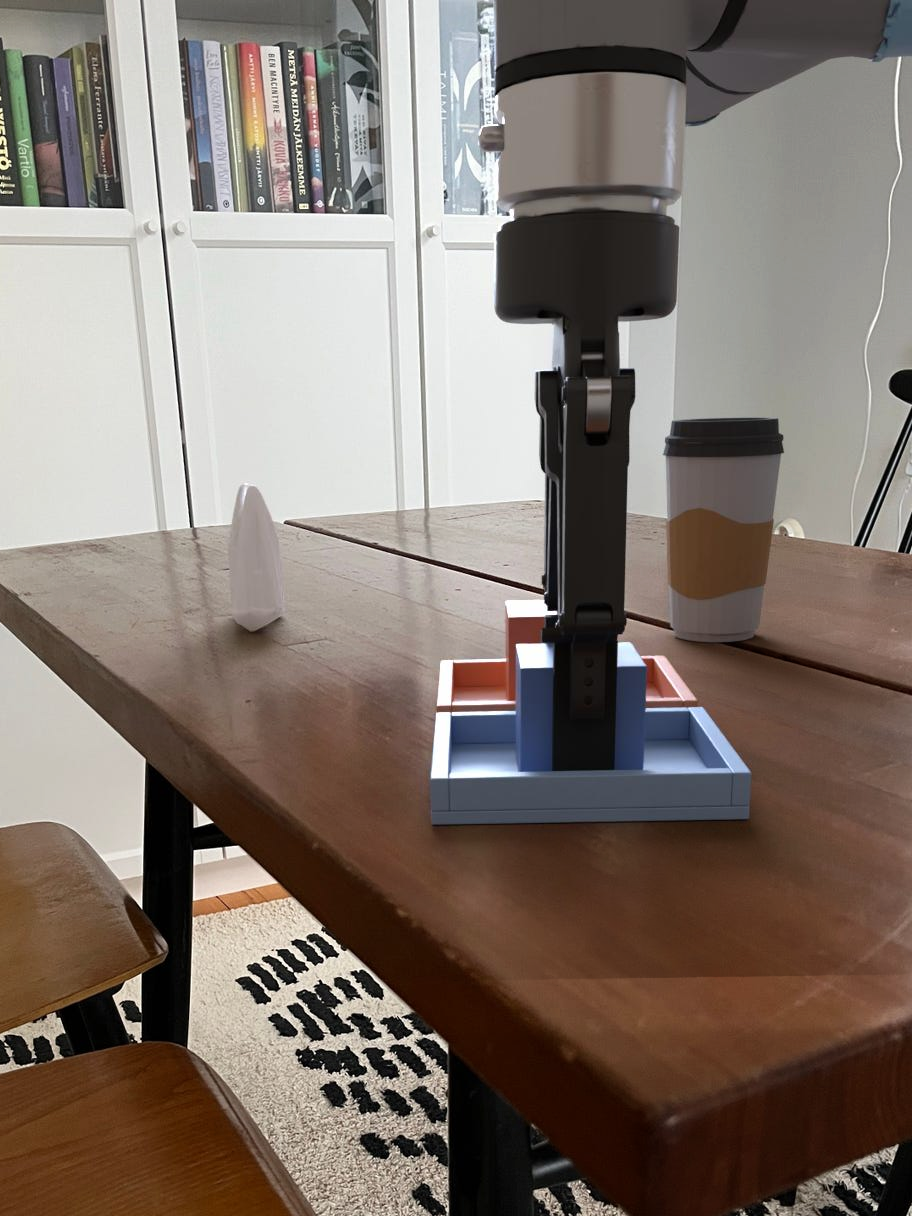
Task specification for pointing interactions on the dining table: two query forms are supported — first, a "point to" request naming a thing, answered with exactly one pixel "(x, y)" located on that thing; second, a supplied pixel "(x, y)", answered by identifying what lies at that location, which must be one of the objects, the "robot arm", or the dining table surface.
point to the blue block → (538, 707)
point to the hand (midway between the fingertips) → (576, 764)
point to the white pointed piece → (254, 562)
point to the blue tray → (586, 775)
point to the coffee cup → (719, 523)
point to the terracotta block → (521, 633)
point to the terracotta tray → (486, 691)
